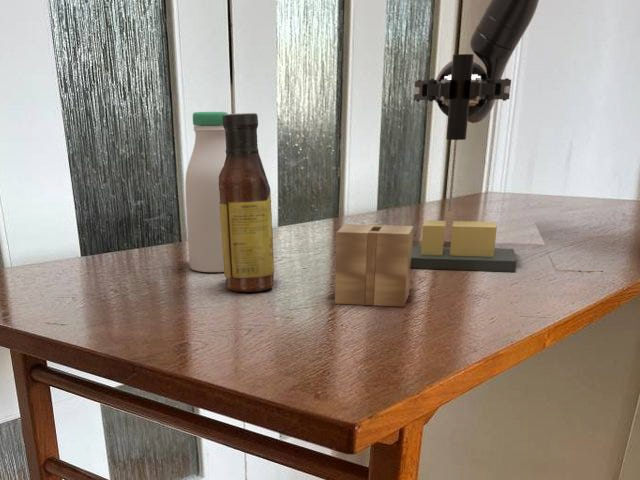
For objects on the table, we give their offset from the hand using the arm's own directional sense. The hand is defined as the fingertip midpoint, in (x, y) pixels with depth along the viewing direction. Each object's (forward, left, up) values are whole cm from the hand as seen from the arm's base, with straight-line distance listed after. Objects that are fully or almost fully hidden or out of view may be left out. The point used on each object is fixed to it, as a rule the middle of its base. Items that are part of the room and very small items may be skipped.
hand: (460, 89), depth 97 cm
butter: (-2, -3, -22) cm, 23 cm away
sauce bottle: (+23, +19, -22) cm, 38 cm away
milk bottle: (+31, +7, -22) cm, 39 cm away
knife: (0, -3, -15) cm, 15 cm away
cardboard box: (+7, +22, -22) cm, 32 cm away
